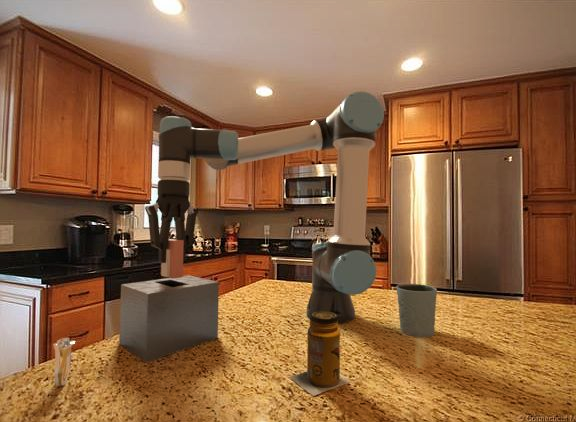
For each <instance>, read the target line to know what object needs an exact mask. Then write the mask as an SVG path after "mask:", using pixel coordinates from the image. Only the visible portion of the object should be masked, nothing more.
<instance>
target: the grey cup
mask: <svg viewBox="0 0 576 422" xmlns="http://www.w3.org/2000/svg"><path fill="white" fill-rule="evenodd" d="M437 293H438V289H437V288H436V287H435V286H432V285H426V284H419V283H401V284H397V285H396V295H397V304H398V314H399V324H400V325H399V326H400V327H399V328H400V329H399V330H400V331H401V332H402V333H403V334H406V335H409V336H412V337H416V338H430V337H433V336H434V335H435V330H436V329H435V324H436V308H437V306H436V305H437V295H438V294H437Z"/></svg>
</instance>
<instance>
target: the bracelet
mask: <svg viewBox="0 0 576 422" xmlns="http://www.w3.org/2000/svg"><path fill="white" fill-rule="evenodd" d="M75 342H76V341H75V340H70V337H62V338H60V339H58V340H57V341H56V343H53V348H54V357H55V358H54V384H55V385H56V387H61V386H65V385H67V380H68V377H69V373H70V368H71V360H72V347H73V346H74V344H75ZM61 355H62V360H61Z"/></svg>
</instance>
